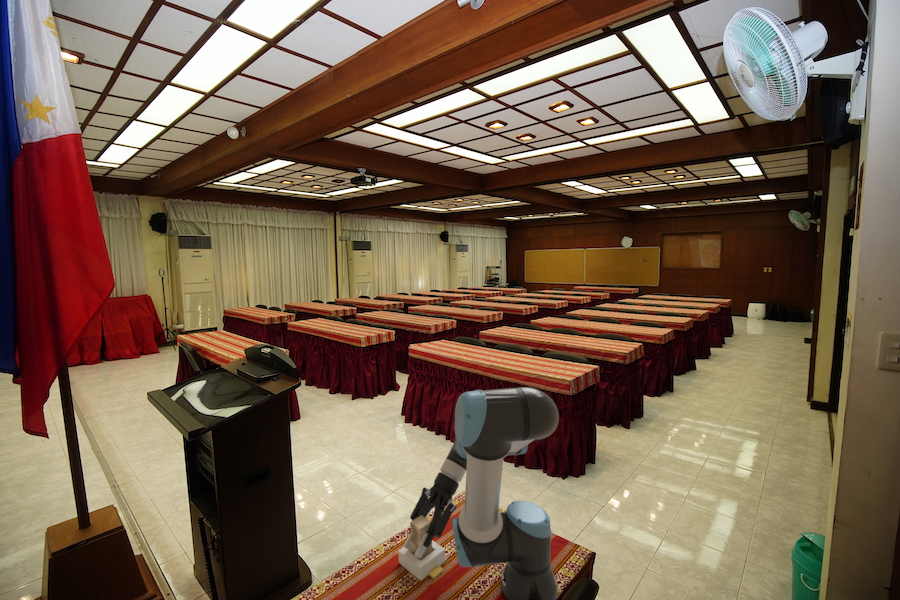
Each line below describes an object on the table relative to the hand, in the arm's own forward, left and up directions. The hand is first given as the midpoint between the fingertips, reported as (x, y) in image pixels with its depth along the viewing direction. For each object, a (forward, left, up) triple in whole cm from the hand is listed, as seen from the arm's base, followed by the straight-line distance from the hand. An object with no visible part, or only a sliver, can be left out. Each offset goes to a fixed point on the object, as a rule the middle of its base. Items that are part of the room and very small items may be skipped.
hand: (411, 552), depth 118 cm
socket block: (-1, -4, -5) cm, 6 cm away
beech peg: (0, -4, -3) cm, 5 cm away
